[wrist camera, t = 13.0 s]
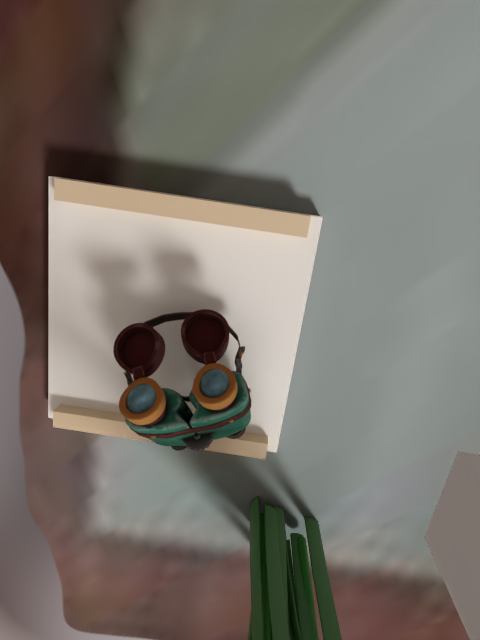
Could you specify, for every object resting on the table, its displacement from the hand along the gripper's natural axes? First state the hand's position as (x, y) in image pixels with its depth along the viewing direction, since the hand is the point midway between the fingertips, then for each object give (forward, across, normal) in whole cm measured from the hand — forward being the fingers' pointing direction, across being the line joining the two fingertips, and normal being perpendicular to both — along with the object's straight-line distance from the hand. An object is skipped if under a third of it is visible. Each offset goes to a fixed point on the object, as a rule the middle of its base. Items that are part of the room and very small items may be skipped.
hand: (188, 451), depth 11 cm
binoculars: (+22, -4, -5) cm, 23 cm away
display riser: (+23, -5, -5) cm, 24 cm away
